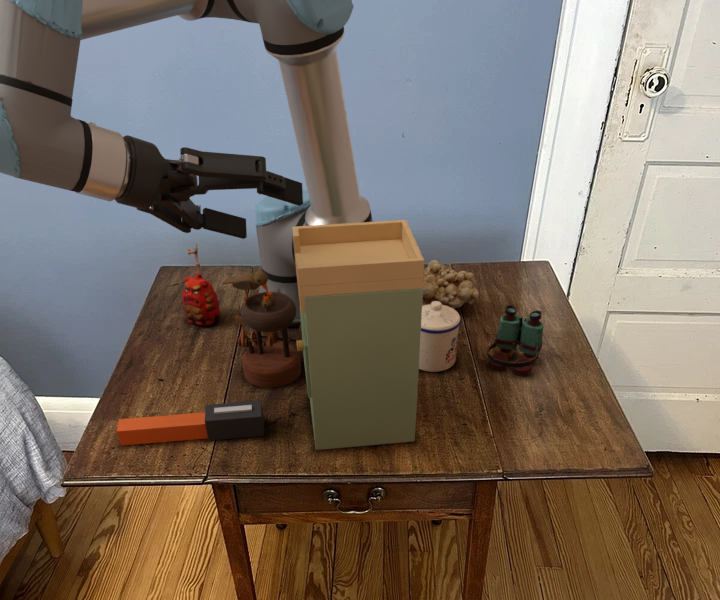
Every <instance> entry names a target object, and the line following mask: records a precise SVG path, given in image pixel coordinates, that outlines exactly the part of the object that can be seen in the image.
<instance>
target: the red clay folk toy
mask: <svg viewBox="0 0 720 600" xmlns="http://www.w3.org/2000/svg"><path fill="white" fill-rule="evenodd" d="M198 250H199V248H198V243H197V242H195V248H194V249H193V251H192V249H190V248H188V249H187V251H186V252H187V254H188V255H189V256H190V255H192V254H193V255H194V257H195V266H196V272H195V273H196V274H195V276H194V277H193V276H187V277H186V278H184V287H183V289H182V293H181V299H180V302H181V304H182V305H183V312H184V316H185V320H186V321H187V322H188V324H191V325H193V324H194V325H197V326H200V327H209V326H210V327H211V326H213V325H214V323H215V322H216V321H217V320H218V319H219V318H220V314H221V309H220V300H219V299H218V293H217V292H216V291H215V288H214V286H213V285H212V284H211V282H210V281H208V280H207V279H206V278H205V277H203V276H202V274H201V273H200V272H201V271H200V269H199V268H200V266H201V264H200V262H199V255H198V253H199V252H198Z"/></svg>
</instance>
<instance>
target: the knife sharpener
mask: <svg viewBox="0 0 720 600" xmlns="http://www.w3.org/2000/svg"><path fill="white" fill-rule="evenodd" d="M204 411H205V412H204ZM204 411H203V412H192V413H180V414H179V413H178V414H166V415H155V416H144V417H143V416H142V417H131V418H119V419H118V424H117V428H116V434H117V437H118V440H119V444H120V446H123V447H124V446H131V445H132V446H134V445H144V444H145V445H146V444H147V445H148V444H157V443H158V444H159V443H168V442H181V441H192V440H193V441H194V440H204V439H205V440H206V439H208V441H221V440H232V439H233V440H234V439H245V438H255V437H264V436H265V419H264V411H263V403H262V400H250V401H239V402H225V403H212V404H206V405H205V410H204Z"/></svg>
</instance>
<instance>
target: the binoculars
mask: <svg viewBox="0 0 720 600" xmlns="http://www.w3.org/2000/svg"><path fill="white" fill-rule="evenodd" d="M517 313H518V310H517V308H516V306H514V305H512V304H506V305H505V307H504V314H502V315H501V317H500V319H499V322H498V327H497V333H496V336H495V339H494V340H493V342H492V343H490V345H489V346H488V348H487V349H486V356H487V359H489V362H488V364H489V365H488V366H489V367H490V368H491V369H492V370H494V371H504V370H505V369H506V368H513V372H514V374H515V375H516V376H519V377H525V376H528V375H530V374H531V373H532V371H533V364H535V363H536V362H537V360H538V359H539V354H540V353H541V351H542V348H543V343H544V341H543V335H544V323H543V322H542V321H540V320H541V319H542V316H543V312H542V310H539V309H537V310H533V311H531V312H530V313H529V316H528V317H524V318H523V316H520V315H517ZM523 319H524V321H523ZM517 347H518V349H519V350H520V351H519V352H521V353H522V355H521V358H519V359H518V360H516V361H515V362H511V361H510V362H509V359H508V358H511V357H512V356H513V354H514V350H515V349H517ZM496 348H498V350H497V352H496V353H493V354H492V355H491V353H490V352H491V350H492V349H496Z"/></svg>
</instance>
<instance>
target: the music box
mask: <svg viewBox="0 0 720 600" xmlns="http://www.w3.org/2000/svg"><path fill="white" fill-rule="evenodd" d="M267 281H268V276H267V274H266V273H265V272H263V271H262V270H257V271H255V272H246V273H243V274H240V275H238V276H236V277H234V276H228V277H227V278H226V279H225V280H223V281H222V284H223V285H228V284H232V285H231V286H232V288H235V291H236V295H237V302H238V309H239V314H237V315H235V316H234V321H235V323H236V324H238V325H241V333H240V336H238V338H237V345H238V346H239V347H242V348H248V349H247V350H246V351H245V352H244V353H243V354H242V357H241V362H242V370H243V376H244V379H245V380H246V381H247V382H248V383H249V384H252V385H253V386H256V387H259V388H265V389H266V388H269V389H270V388H271V389H272V388H279V387H280V388H281V387H283V386H286V385H289V384H291V383H294V381H296V380H297V379H298V378H299V377H300V376H301V373H302V365H301V364H302V363H301V353H300V351H297V347H295V346H294V345H292V344H291V343H295V344H296V345H297V342H296V341H297V340H301V338H302V330H301V326H298V331H297V334H296V338H292V337H291V336H288V334H289V333H288V328H289V327H288V326H289V325H290V324H291V323H292V322H293V321H294V319H295V316H296V306H295V304H294V302H293V300H292V299H291V298H290V297H288V296H287V295H285V294H282V293H279V292H268V287H267ZM260 286H262V287H263V288H264V289H265V290H266V291H267V292H263V293H259V292H258V293H256V294H253V295H251V296H249V292H248V291H254V290H257V289H259V288H260ZM239 290H241V291H244V296H245V297H243V298H244V299H243V301H244V302H243V305H242V306H240V305H241V304H240V299H239V298H240V297H239V292H238V291H239ZM243 326H247V327H249V328H250V329H252V330H251V332H250V336H248V334H247V331H246V330H245V329H244V327H243ZM279 331H281V337H279V334H278V332H279ZM262 333H268V334H267V335H262Z"/></svg>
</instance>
